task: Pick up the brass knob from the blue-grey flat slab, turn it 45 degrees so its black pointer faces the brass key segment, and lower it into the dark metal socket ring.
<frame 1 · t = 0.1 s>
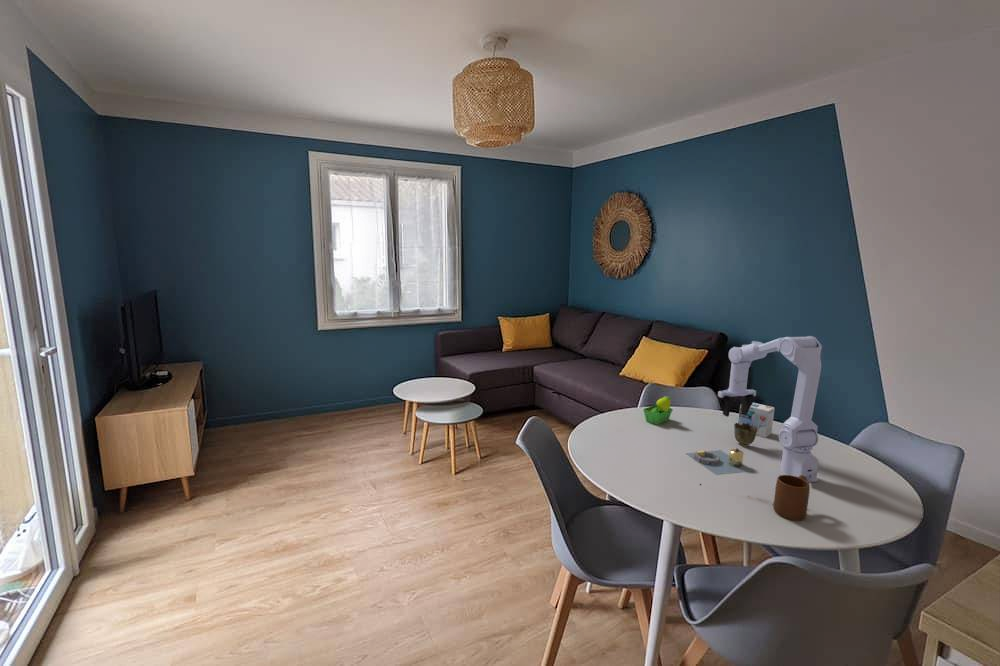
hand: (734, 415, 175), 10 cm above the table, fingers open, 7 cm apart
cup: (743, 447, 171), on the table
fruit basket: (658, 421, 196), on the table
light bulb box: (754, 432, 186), on the table
mug: (792, 511, 129), on the table
blue-grey flat slab: (718, 464, 156), on the table
knob: (735, 464, 154), point 1 cm above the table, touching blue-grey flat slab
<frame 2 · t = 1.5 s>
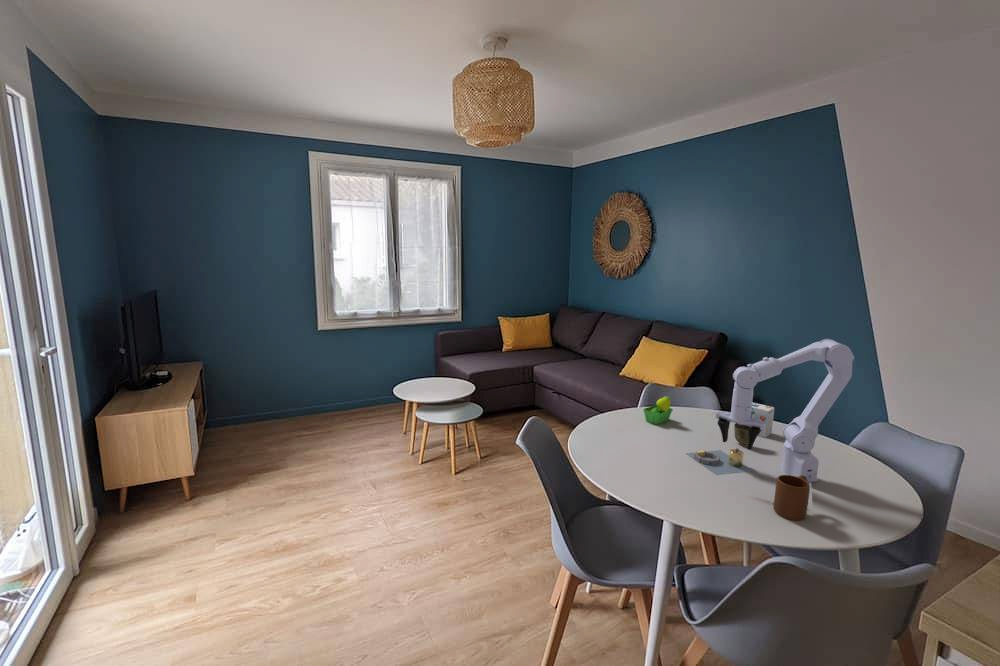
hand: (737, 444, 153), 8 cm above the table, fingers open, 7 cm apart
nothing on the table moved.
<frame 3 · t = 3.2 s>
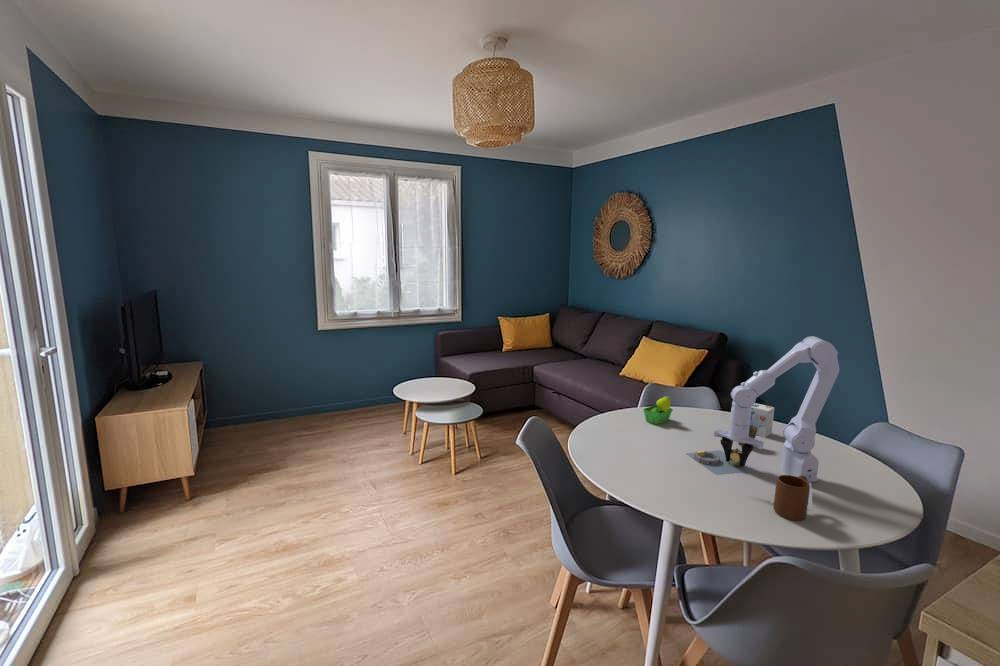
hand: (735, 462, 154), 2 cm above the table, fingers closed on knob, 4 cm apart
knob: (735, 464, 154), point 1 cm above the table, touching gripper, blue-grey flat slab
everything else where it was.
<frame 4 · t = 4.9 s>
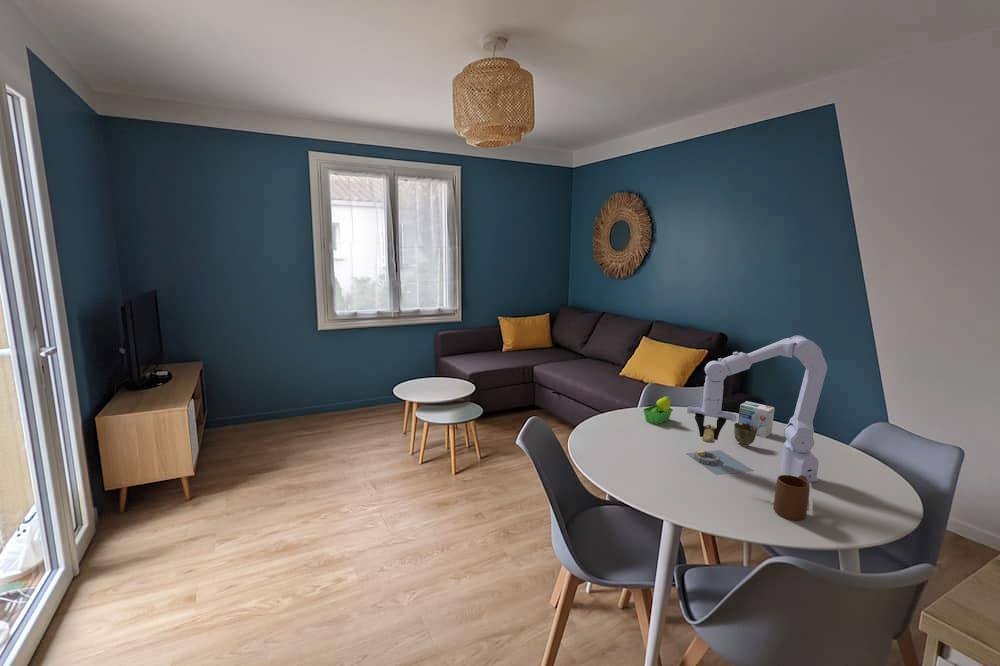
hand: (708, 437, 156), 9 cm above the table, fingers closed on knob, 4 cm apart
knob: (708, 440, 156), point 8 cm above the table, touching gripper
everything else where it was.
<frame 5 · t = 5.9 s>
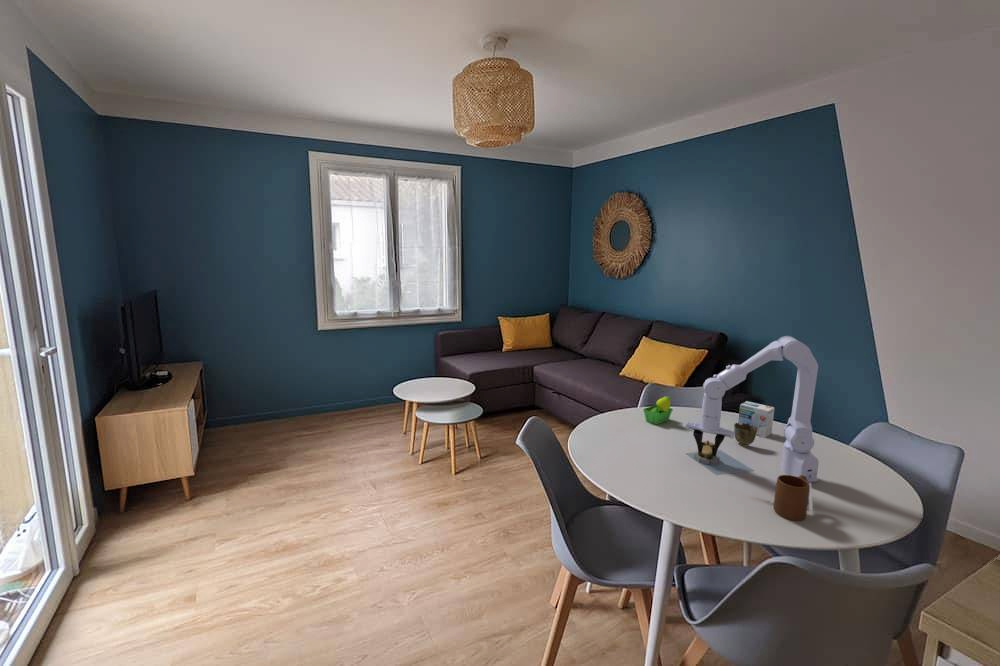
hand: (707, 453, 157), 3 cm above the table, fingers closed on knob, 4 cm apart
knob: (706, 456, 157), point 2 cm above the table, touching gripper
everything else where it was.
when the fingers open (3 cm above the table, at t = 6.8 s): knob stays where it is, resting on blue-grey flat slab.
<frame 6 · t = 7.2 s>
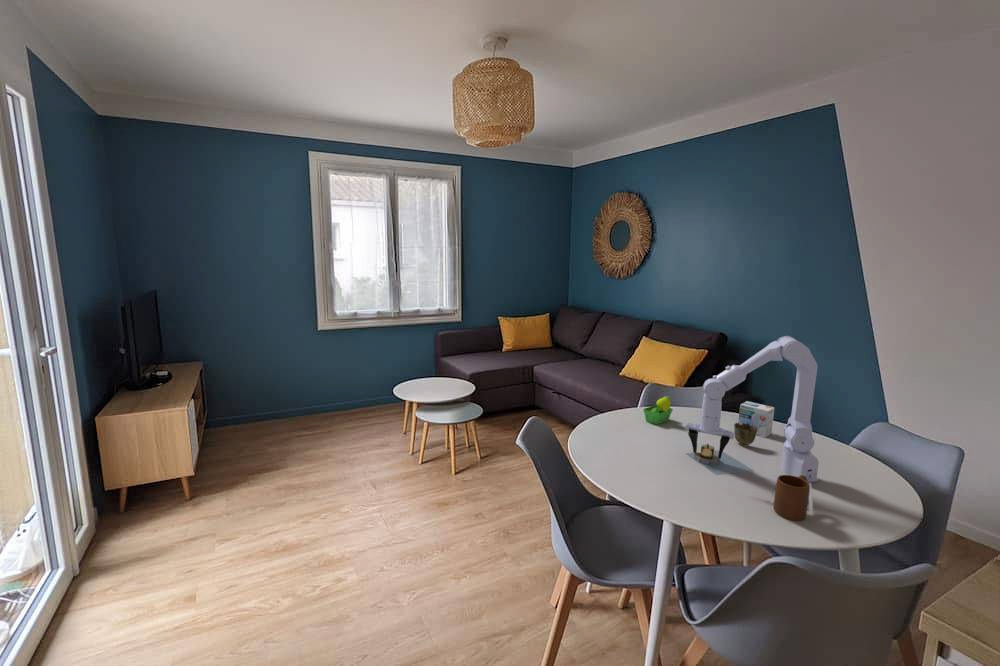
hand: (707, 454, 157), 3 cm above the table, fingers open, 7 cm apart
knob: (706, 459, 157), point 1 cm above the table, touching blue-grey flat slab
everything else where it was.
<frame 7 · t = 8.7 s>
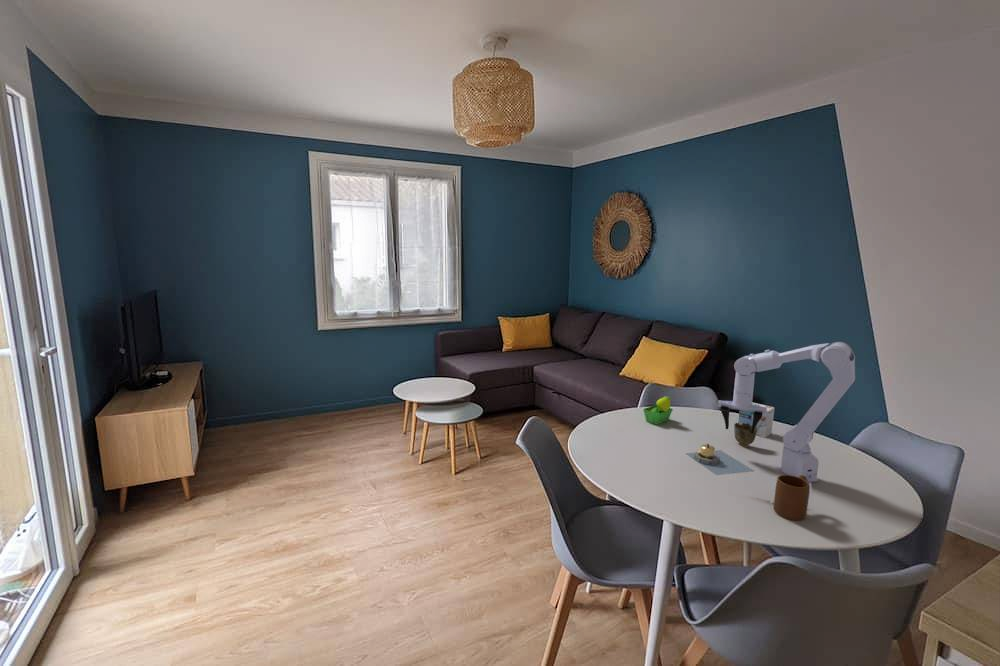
hand: (739, 430, 160), 10 cm above the table, fingers open, 7 cm apart
nothing on the table moved.
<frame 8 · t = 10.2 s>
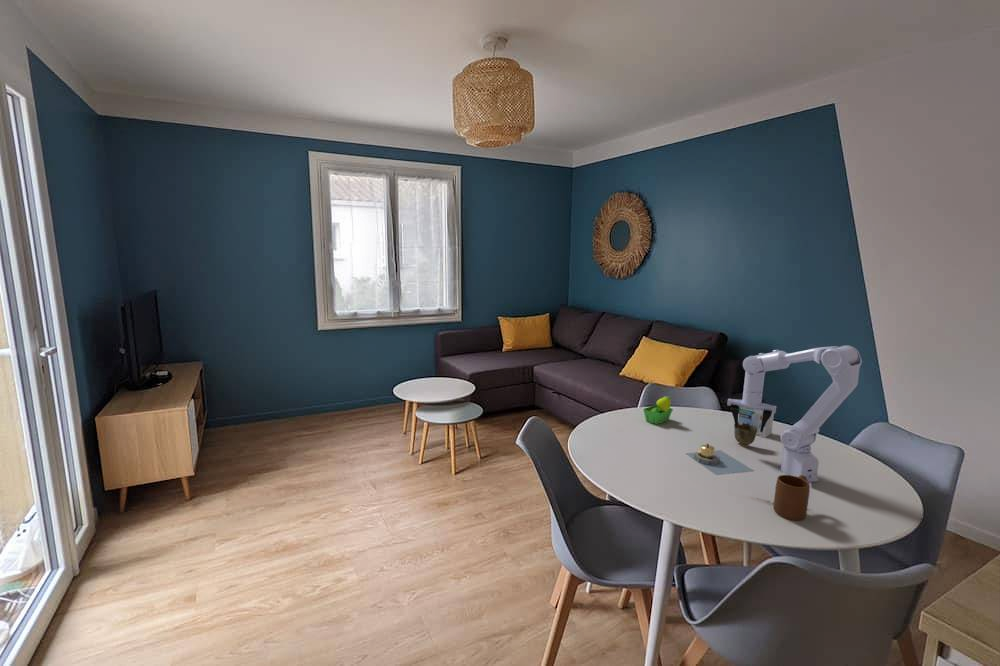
hand: (748, 428, 162), 10 cm above the table, fingers open, 7 cm apart
nothing on the table moved.
at the end: knob 0.0 cm from the target spot on the blue-grey flat slab, point 1.0 cm above the blue-grey flat slab's base; knob tilted 1°; the gripper is holding nothing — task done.
